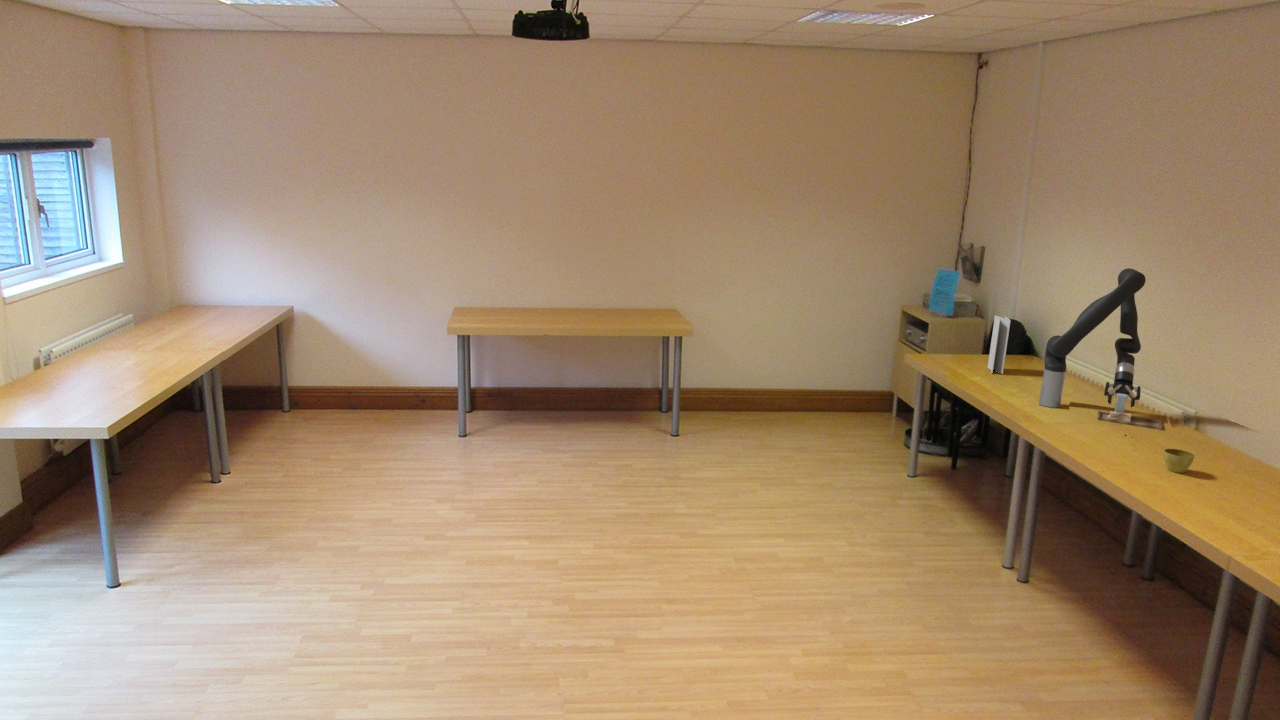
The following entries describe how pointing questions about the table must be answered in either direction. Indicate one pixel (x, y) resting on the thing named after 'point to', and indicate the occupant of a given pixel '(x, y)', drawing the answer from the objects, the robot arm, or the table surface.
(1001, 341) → the brochure
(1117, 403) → the blue-grey rectangular block
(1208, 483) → the table surface
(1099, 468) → the table surface
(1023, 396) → the table surface
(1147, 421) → the brown serving tray
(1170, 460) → the green bowl
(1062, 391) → the robot arm
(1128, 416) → the offcut stack
